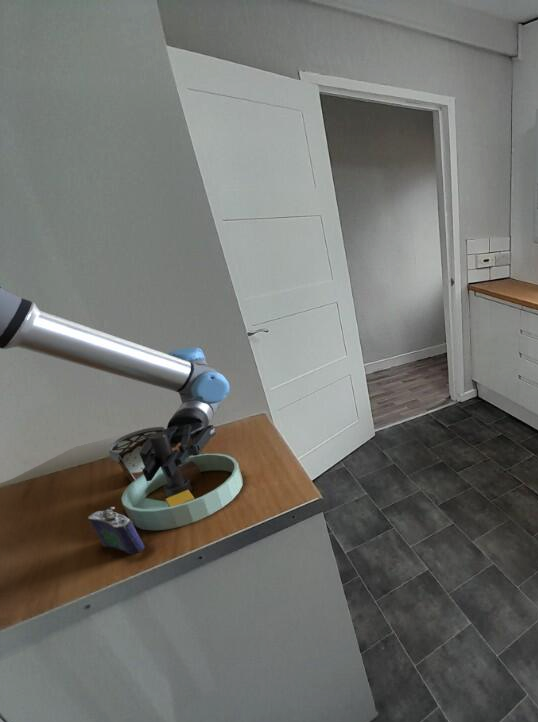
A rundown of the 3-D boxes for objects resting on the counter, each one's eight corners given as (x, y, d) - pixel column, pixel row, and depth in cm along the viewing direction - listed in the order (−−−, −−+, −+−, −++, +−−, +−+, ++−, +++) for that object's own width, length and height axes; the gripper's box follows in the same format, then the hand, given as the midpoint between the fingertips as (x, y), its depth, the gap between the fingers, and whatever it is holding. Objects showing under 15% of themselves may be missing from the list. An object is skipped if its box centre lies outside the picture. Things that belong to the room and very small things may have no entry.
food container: (158, 456, 106) (143, 423, 102) (179, 459, 106) (165, 425, 101) (109, 487, 95) (91, 452, 91) (132, 490, 94) (115, 454, 90)
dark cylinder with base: (170, 489, 92) (147, 432, 86) (193, 484, 94) (172, 428, 88) (165, 501, 89) (140, 442, 82) (189, 495, 90) (167, 438, 84)
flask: (103, 553, 78) (79, 509, 73) (121, 541, 80) (98, 499, 76) (138, 565, 75) (115, 521, 71) (155, 553, 78) (134, 510, 73)
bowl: (112, 511, 88) (102, 490, 86) (213, 463, 105) (206, 445, 102) (161, 546, 79) (151, 524, 77) (262, 488, 96) (257, 468, 94)
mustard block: (171, 513, 86) (165, 498, 85) (193, 504, 89) (188, 489, 88) (176, 522, 84) (170, 507, 83) (199, 512, 87) (194, 497, 85)
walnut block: (177, 482, 96) (171, 468, 94) (196, 474, 99) (192, 460, 97) (183, 489, 94) (178, 474, 92) (203, 480, 97) (198, 466, 95)
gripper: (231, 428, 107) (208, 480, 87) (157, 439, 101) (114, 497, 82) (223, 402, 104) (198, 450, 84) (146, 412, 98) (100, 466, 79)
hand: (157, 473), depth 83 cm, fingers closed on dark cylinder with base, 3 cm apart
